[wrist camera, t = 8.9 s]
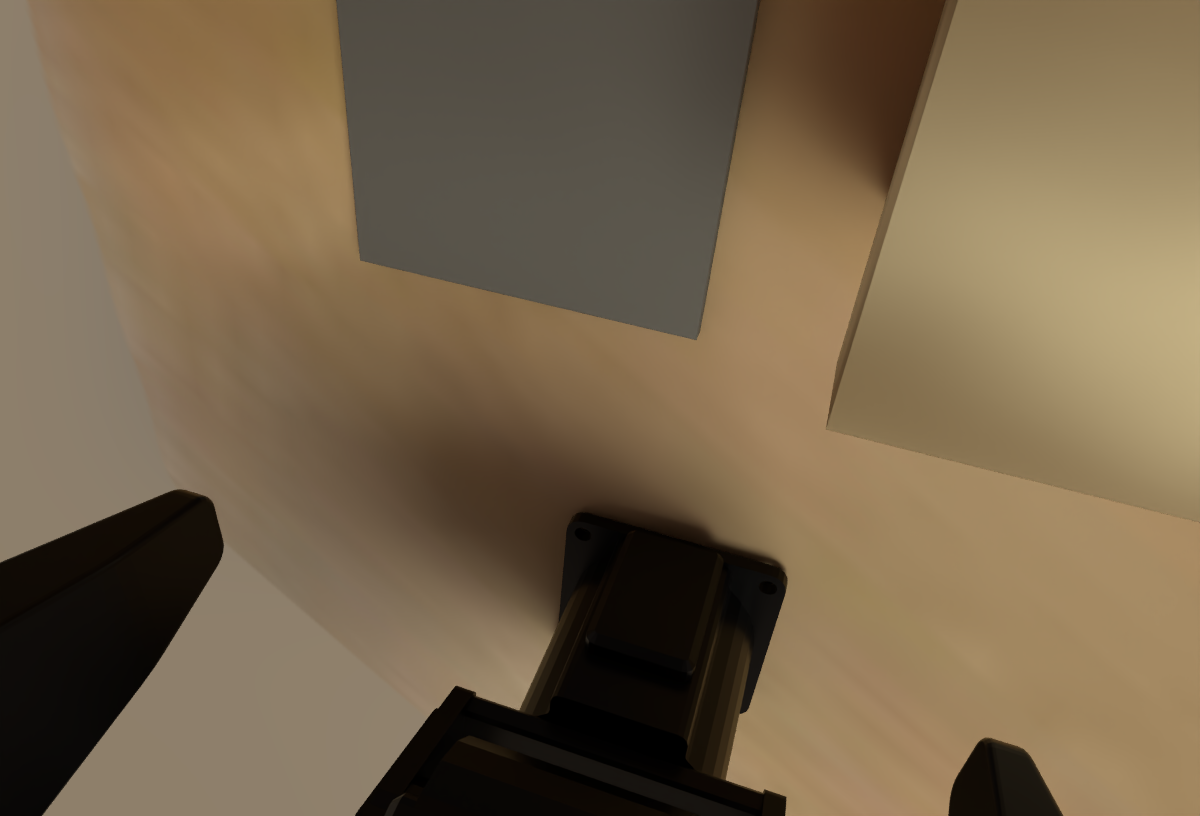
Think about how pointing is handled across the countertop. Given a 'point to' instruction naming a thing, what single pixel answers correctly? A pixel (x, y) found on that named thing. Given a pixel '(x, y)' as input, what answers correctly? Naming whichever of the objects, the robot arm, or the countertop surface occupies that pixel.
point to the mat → (548, 145)
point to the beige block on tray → (1043, 255)
